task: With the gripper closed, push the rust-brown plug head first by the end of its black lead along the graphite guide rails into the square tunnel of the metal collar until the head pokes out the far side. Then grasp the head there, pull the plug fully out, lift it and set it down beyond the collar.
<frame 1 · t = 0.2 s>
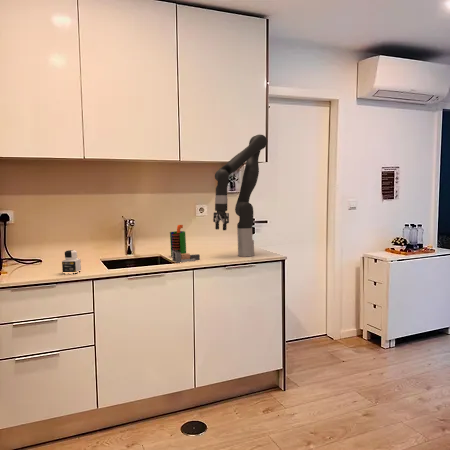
hand: (220, 229, 252), 17 cm above the worktop, tool pointing down, fingers open, 8 cm apart
plug: (190, 260, 247), on the worktop
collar: (176, 261, 245), on the worktop
medicine bottle: (72, 273, 218), on the worktop
motor: (178, 256, 262), on the worktop
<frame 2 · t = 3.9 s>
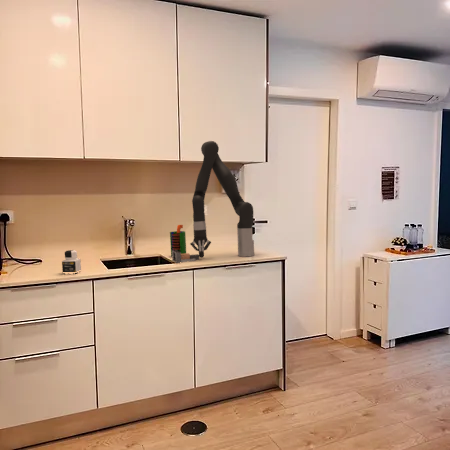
hand: (201, 257, 250), 1 cm above the worktop, tool pointing down, fingers closed
plug: (189, 260, 247), on the worktop, touching gripper
everything else where it was.
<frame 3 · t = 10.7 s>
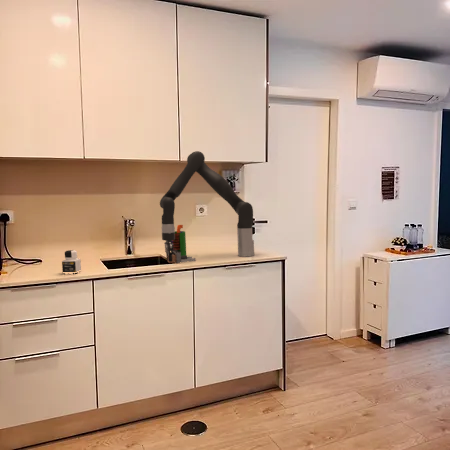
hand: (169, 260, 243), 1 cm above the worktop, tool pointing down, fingers open, 4 cm apart
plug: (177, 261, 245), on the worktop, touching gripper
everything else where it was.
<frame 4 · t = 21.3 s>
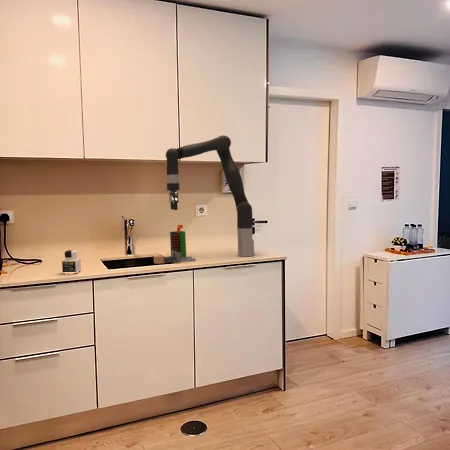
hand: (174, 209, 249), 30 cm above the worktop, tool pointing down, fingers open, 8 cm apart
plug: (164, 262, 242), on the worktop
everything else where it was.
at the end: plug inside the target area (4.8 cm from its centre), on the worktop; the gripper is holding nothing; plug tilted 0° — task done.
